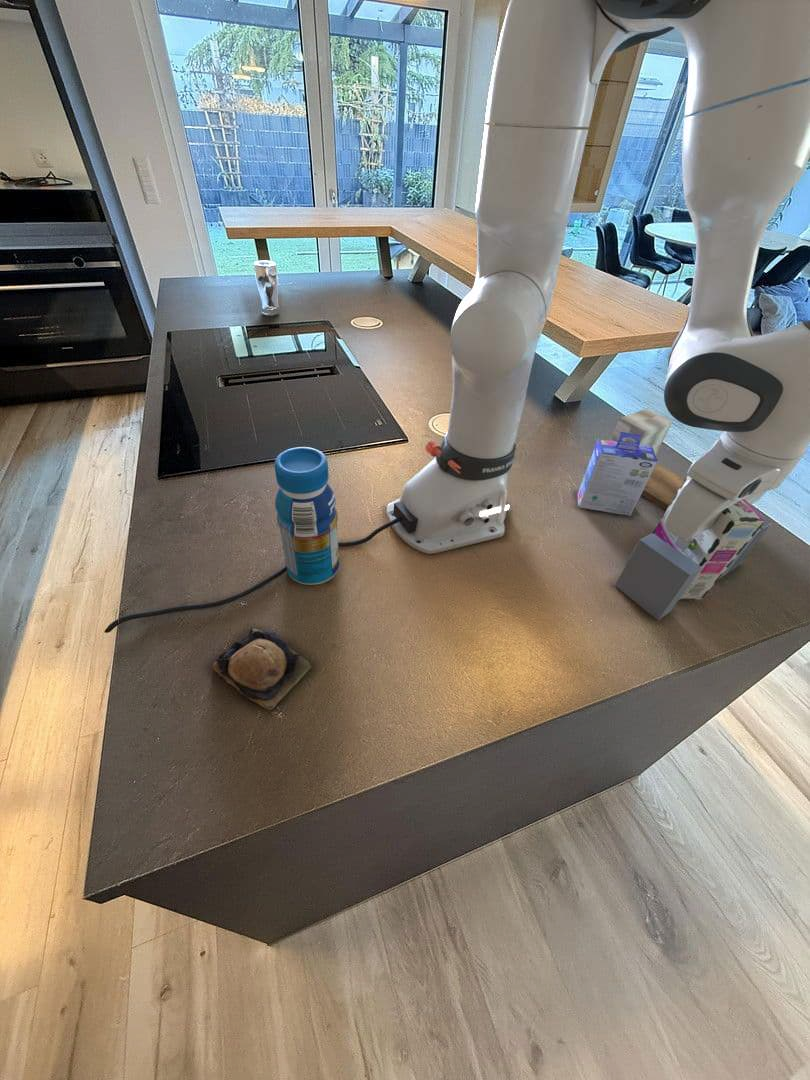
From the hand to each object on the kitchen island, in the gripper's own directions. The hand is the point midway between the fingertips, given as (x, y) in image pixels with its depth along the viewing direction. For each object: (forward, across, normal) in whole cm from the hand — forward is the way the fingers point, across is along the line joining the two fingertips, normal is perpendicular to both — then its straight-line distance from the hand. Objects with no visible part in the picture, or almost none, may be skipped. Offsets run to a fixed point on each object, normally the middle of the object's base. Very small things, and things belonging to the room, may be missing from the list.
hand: (696, 537), depth 69 cm
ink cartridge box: (+10, -6, -18) cm, 22 cm away
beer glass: (+12, +11, -147) cm, 147 cm away
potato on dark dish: (+10, +62, -17) cm, 65 cm away
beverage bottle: (+10, +49, -30) cm, 58 cm away
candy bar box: (+8, 0, 0) cm, 8 cm away
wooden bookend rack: (+9, -21, -16) cm, 28 cm away
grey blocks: (+9, -2, 0) cm, 9 cm away
